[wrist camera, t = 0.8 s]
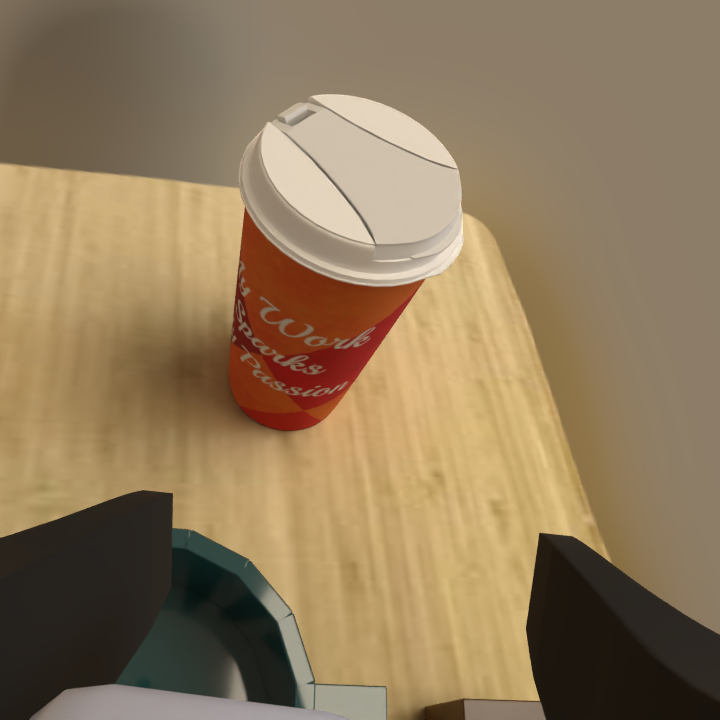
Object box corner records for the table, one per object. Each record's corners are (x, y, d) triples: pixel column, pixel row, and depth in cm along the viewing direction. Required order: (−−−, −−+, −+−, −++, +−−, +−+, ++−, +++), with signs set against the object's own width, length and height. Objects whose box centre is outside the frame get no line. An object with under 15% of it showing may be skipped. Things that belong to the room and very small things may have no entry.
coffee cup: (170, 380, 32) (188, 143, 20) (275, 291, 37) (342, 56, 25) (299, 487, 31) (402, 306, 19) (390, 381, 36) (519, 182, 24)
